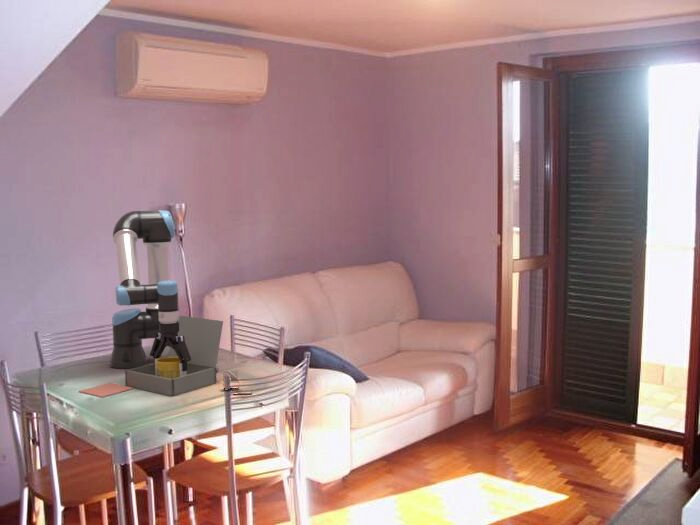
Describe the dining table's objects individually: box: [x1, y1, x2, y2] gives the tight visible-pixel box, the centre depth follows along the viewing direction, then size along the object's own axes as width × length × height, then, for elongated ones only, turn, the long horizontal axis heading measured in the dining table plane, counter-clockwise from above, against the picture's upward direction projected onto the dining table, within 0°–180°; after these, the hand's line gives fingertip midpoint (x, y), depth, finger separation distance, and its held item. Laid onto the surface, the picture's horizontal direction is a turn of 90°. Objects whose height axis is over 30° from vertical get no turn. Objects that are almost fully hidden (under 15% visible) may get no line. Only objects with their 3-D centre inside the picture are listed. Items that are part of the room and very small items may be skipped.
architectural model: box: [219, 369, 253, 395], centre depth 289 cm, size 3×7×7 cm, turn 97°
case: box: [124, 315, 224, 397], centre depth 298 cm, size 26×27×24 cm
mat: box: [78, 382, 135, 399], centre depth 291 cm, size 14×14×1 cm
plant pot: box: [156, 356, 181, 379], centre depth 297 cm, size 10×10×10 cm
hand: (171, 377), depth 297 cm, fingers open, 13 cm apart
